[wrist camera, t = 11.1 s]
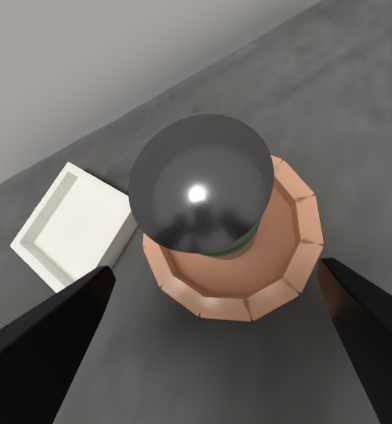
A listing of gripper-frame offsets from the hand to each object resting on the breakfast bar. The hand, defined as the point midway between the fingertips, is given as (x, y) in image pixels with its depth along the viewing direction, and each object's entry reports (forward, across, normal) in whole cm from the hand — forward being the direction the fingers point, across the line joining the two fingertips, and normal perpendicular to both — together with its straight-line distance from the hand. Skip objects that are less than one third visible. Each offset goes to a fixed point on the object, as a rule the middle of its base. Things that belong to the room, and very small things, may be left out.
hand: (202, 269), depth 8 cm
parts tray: (+11, +17, +4) cm, 21 cm away
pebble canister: (+10, 0, +4) cm, 10 cm away
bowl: (+10, 0, +5) cm, 11 cm away
